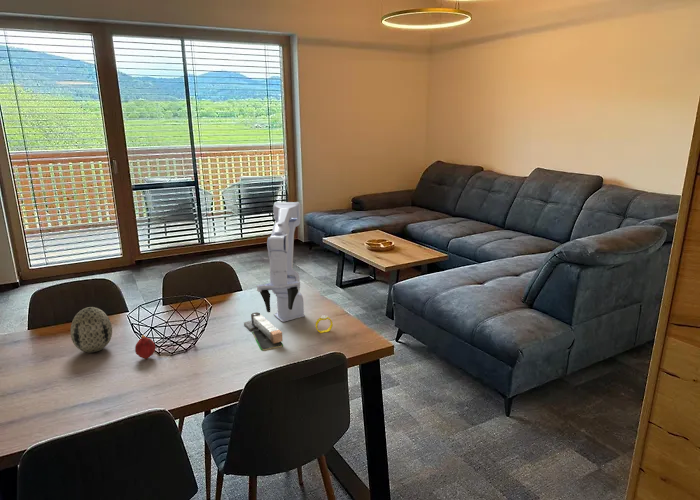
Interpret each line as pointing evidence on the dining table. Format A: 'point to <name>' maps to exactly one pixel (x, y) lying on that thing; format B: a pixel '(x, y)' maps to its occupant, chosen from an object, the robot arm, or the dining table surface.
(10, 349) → the dining table surface
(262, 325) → the swing bar
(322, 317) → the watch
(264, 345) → the smartphone
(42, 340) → the dining table surface
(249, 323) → the pivot plate
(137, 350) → the onion
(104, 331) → the decorative egg
